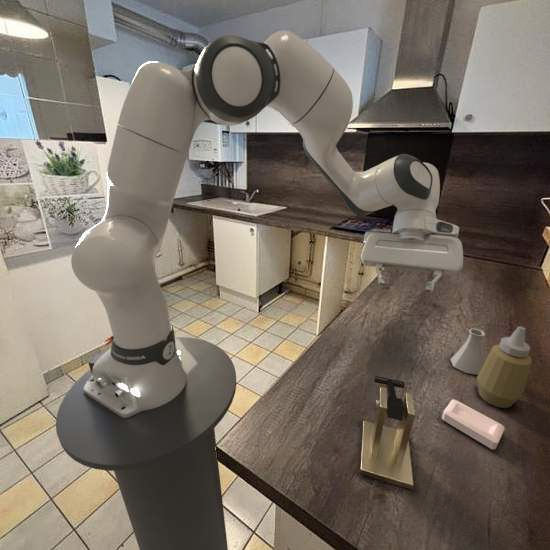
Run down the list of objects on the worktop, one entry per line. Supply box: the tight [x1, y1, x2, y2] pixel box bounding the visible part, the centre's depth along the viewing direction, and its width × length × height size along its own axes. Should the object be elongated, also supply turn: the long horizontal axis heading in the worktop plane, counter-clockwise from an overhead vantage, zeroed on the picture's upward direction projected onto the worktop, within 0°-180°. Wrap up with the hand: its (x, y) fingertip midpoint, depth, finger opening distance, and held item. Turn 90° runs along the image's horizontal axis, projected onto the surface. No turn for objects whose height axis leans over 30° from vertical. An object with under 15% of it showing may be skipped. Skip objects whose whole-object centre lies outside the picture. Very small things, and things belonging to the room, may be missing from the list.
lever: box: [373, 375, 406, 422], centre depth 52 cm, size 13×6×2 cm, turn 161°
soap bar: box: [441, 398, 506, 450], centre depth 56 cm, size 5×9×2 cm, turn 42°
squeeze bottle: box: [476, 325, 533, 409], centre depth 60 cm, size 8×8×18 cm
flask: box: [449, 327, 486, 376], centre depth 71 cm, size 7×7×10 cm
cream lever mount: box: [359, 386, 417, 490], centre depth 49 cm, size 10×8×13 cm
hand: (404, 288), depth 62 cm, fingers open, 8 cm apart
